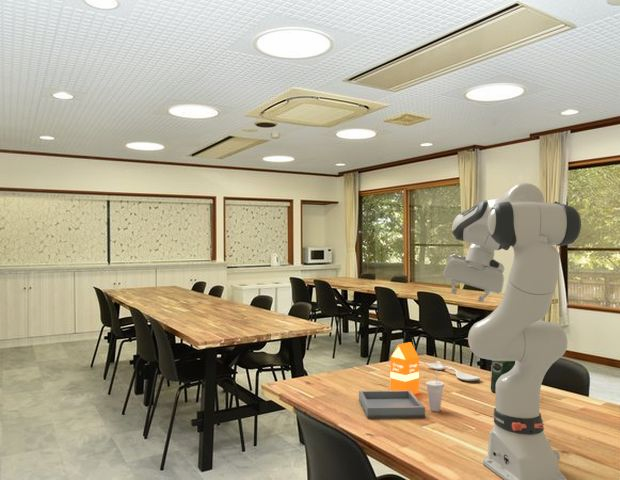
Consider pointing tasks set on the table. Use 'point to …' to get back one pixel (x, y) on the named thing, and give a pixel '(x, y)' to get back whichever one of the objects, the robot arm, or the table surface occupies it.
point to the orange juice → (405, 369)
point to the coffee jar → (499, 371)
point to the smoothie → (435, 394)
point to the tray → (391, 404)
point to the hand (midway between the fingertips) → (466, 297)
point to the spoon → (459, 374)
